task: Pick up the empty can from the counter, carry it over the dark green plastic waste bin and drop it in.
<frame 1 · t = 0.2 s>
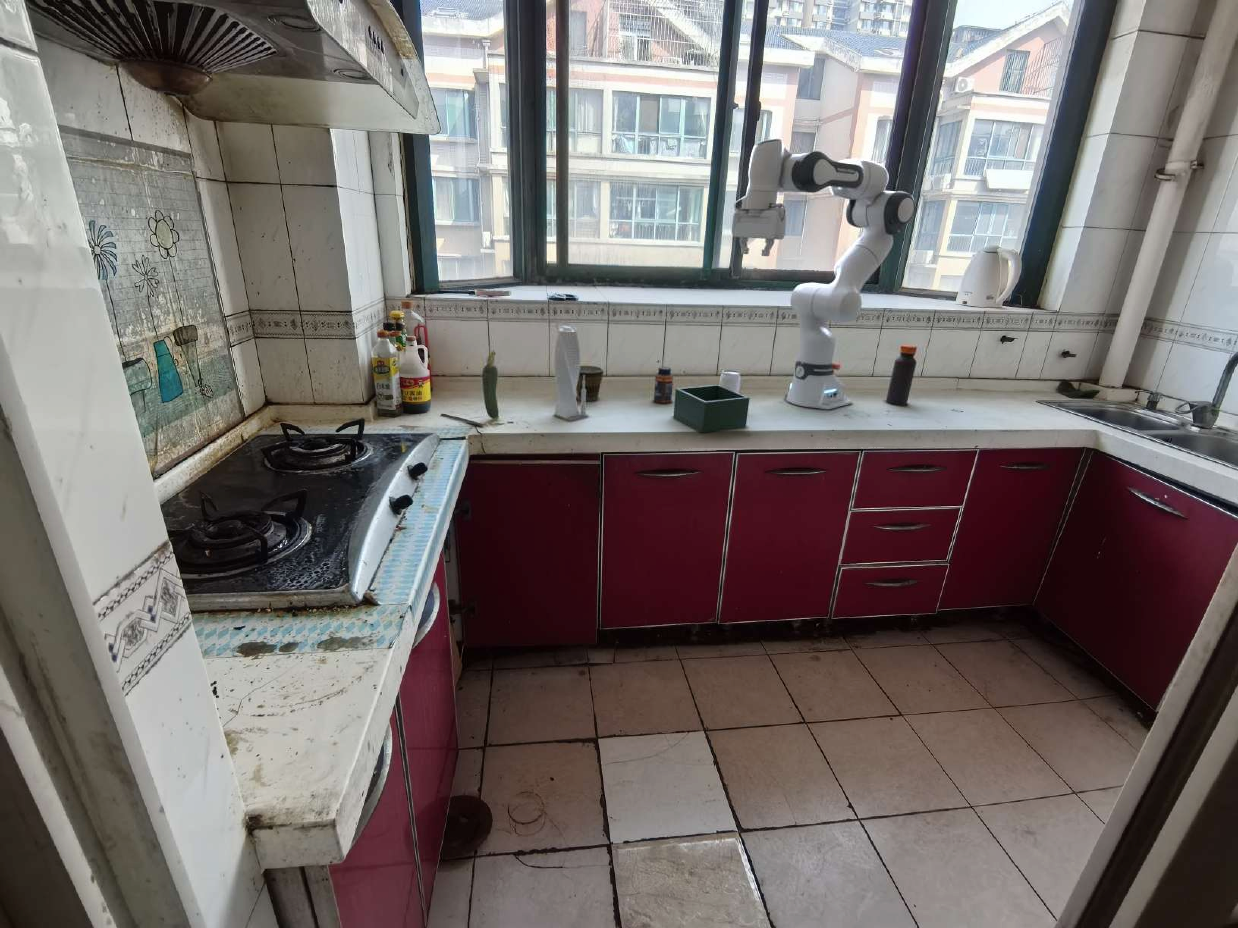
hand: (754, 255, 173), 47 cm above the countertop, tool pointing down, fingers open, 8 cm apart
skyscraper: (567, 416, 177), on the countertop
ceramic cup: (584, 400, 195), on the countertop
bin: (708, 422, 178), on the countertop
supplement bottle: (662, 401, 197), on the countertop
vinegar: (896, 403, 208), on the countertop
can: (726, 409, 192), on the countertop
vegetable: (492, 420, 171), on the countertop
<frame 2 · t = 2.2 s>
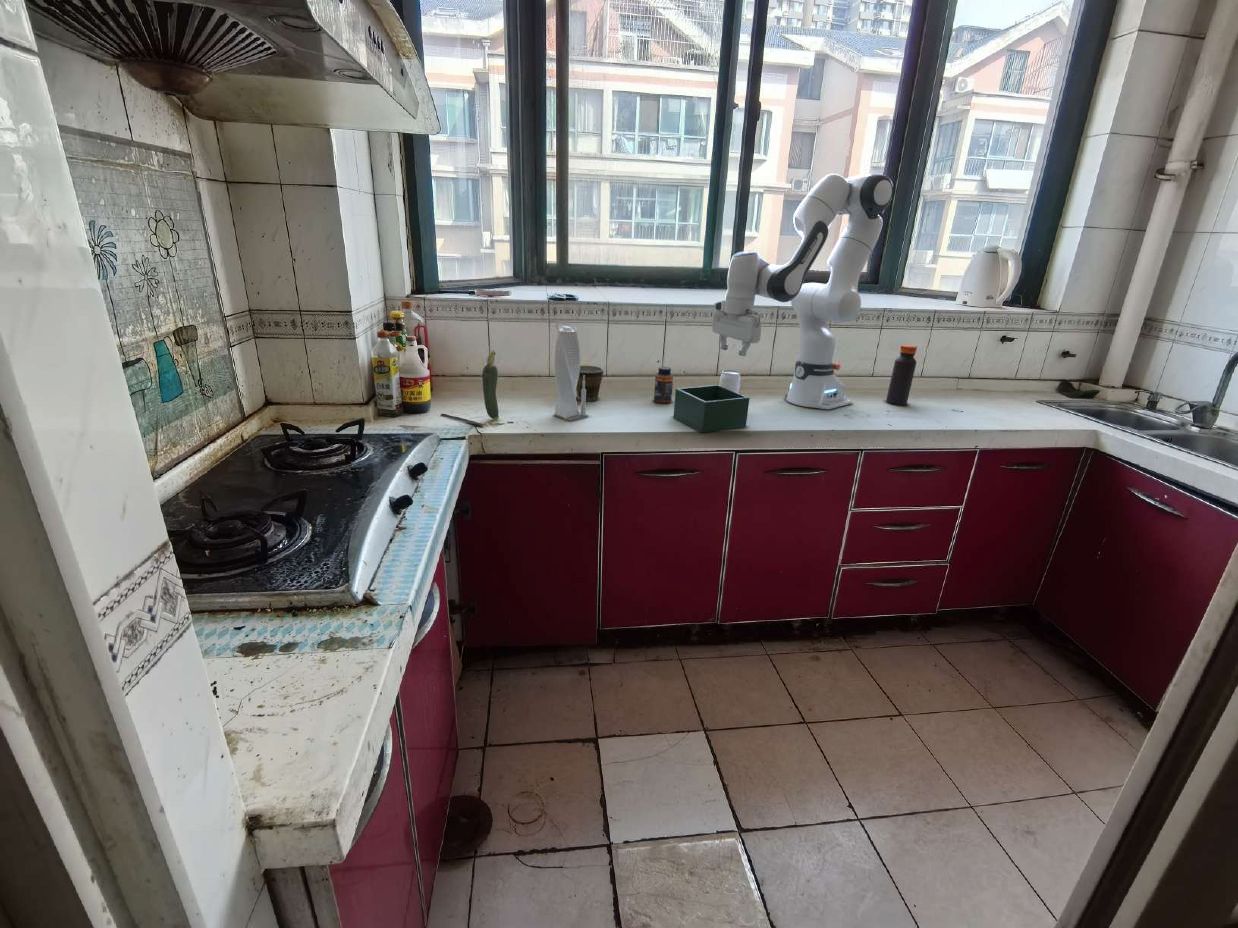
hand: (732, 352, 185), 18 cm above the countertop, tool pointing down, fingers open, 8 cm apart
nothing on the countertop moved.
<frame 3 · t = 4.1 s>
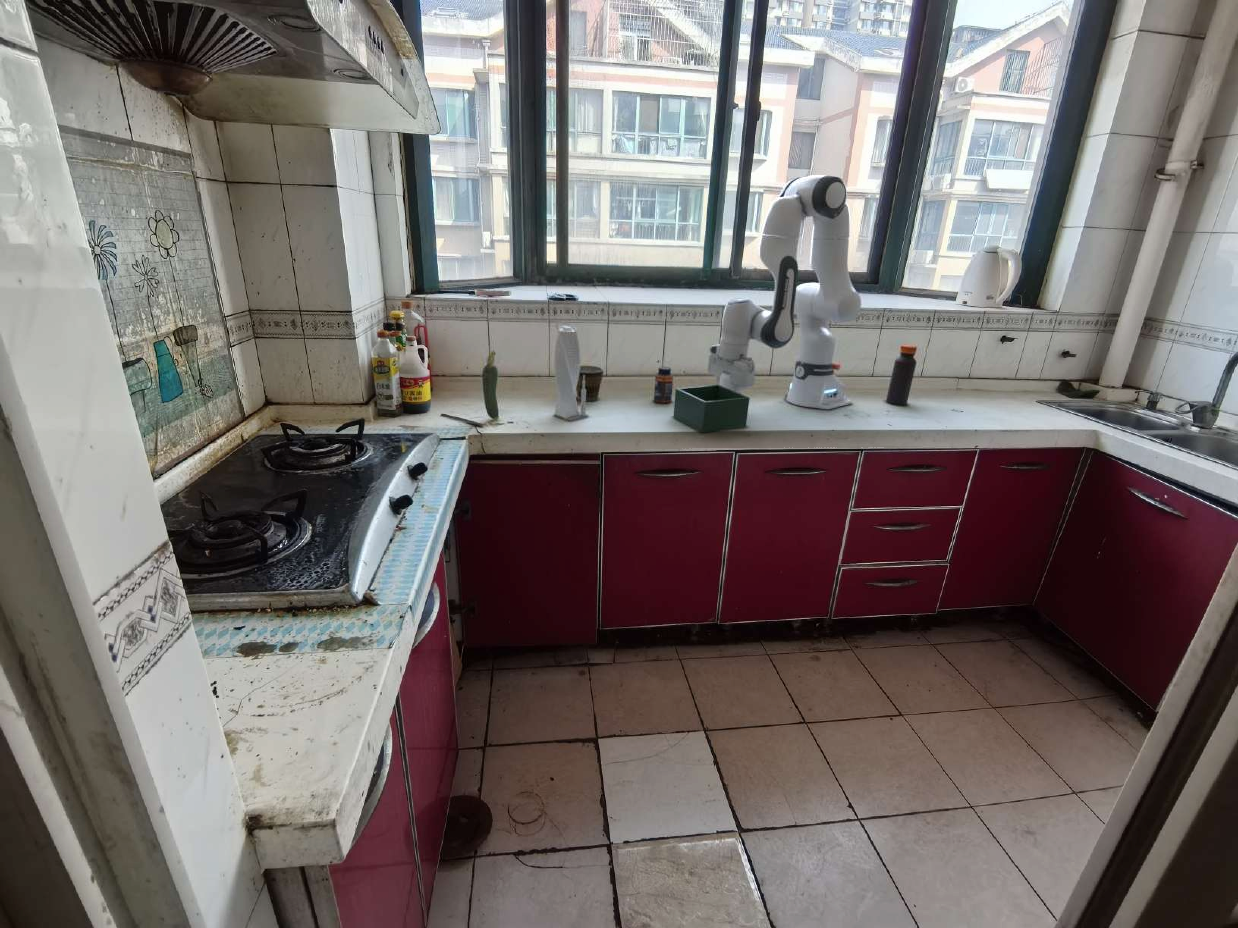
hand: (728, 394, 190), 5 cm above the countertop, tool pointing down, fingers closed on can, 6 cm apart
can: (726, 409, 192), on the countertop, touching gripper
everything else where it was.
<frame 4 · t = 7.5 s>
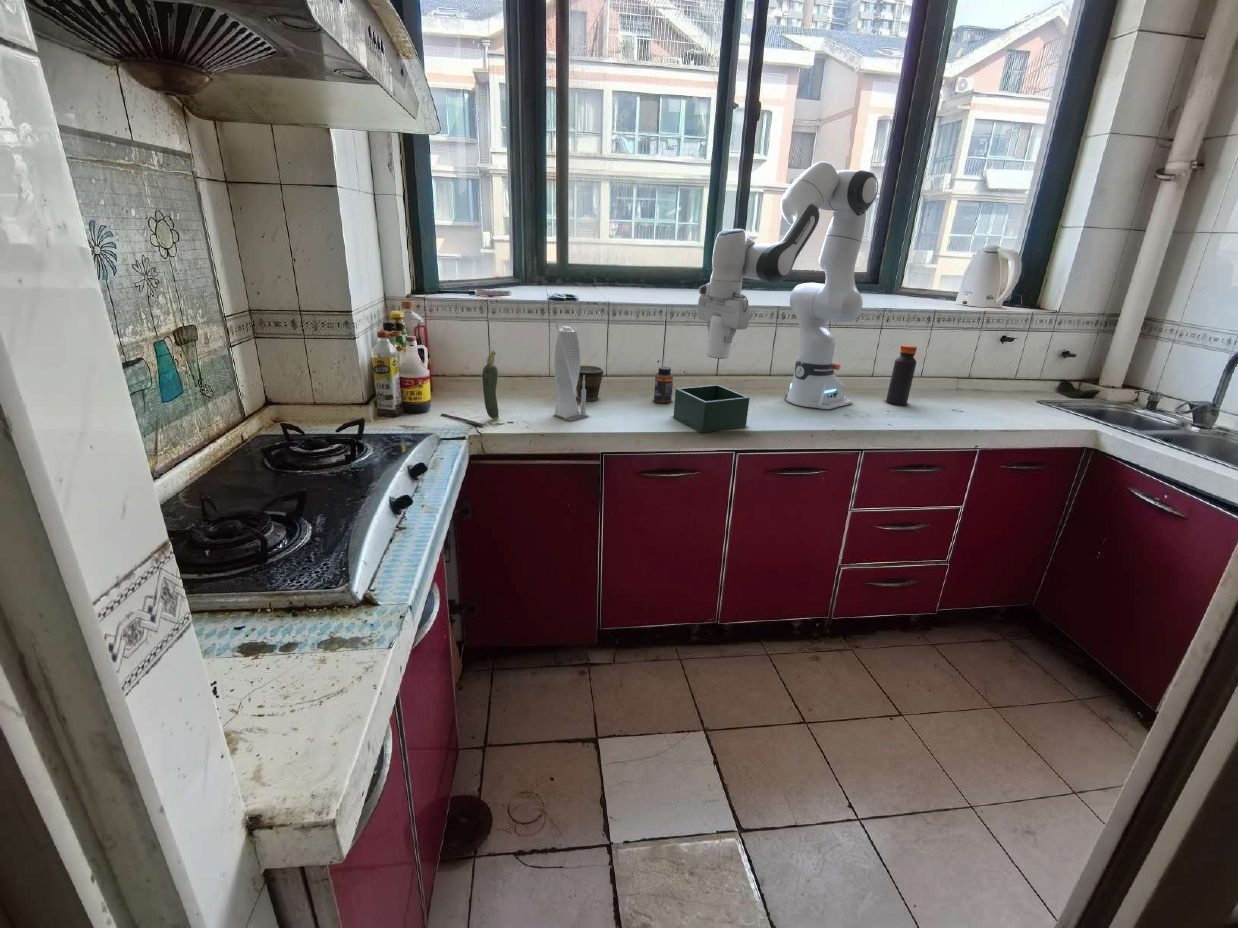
hand: (719, 340, 171), 24 cm above the countertop, tool pointing down, fingers closed on can, 6 cm apart
can: (717, 357, 172), point 19 cm above the countertop, touching gripper
everything else where it was.
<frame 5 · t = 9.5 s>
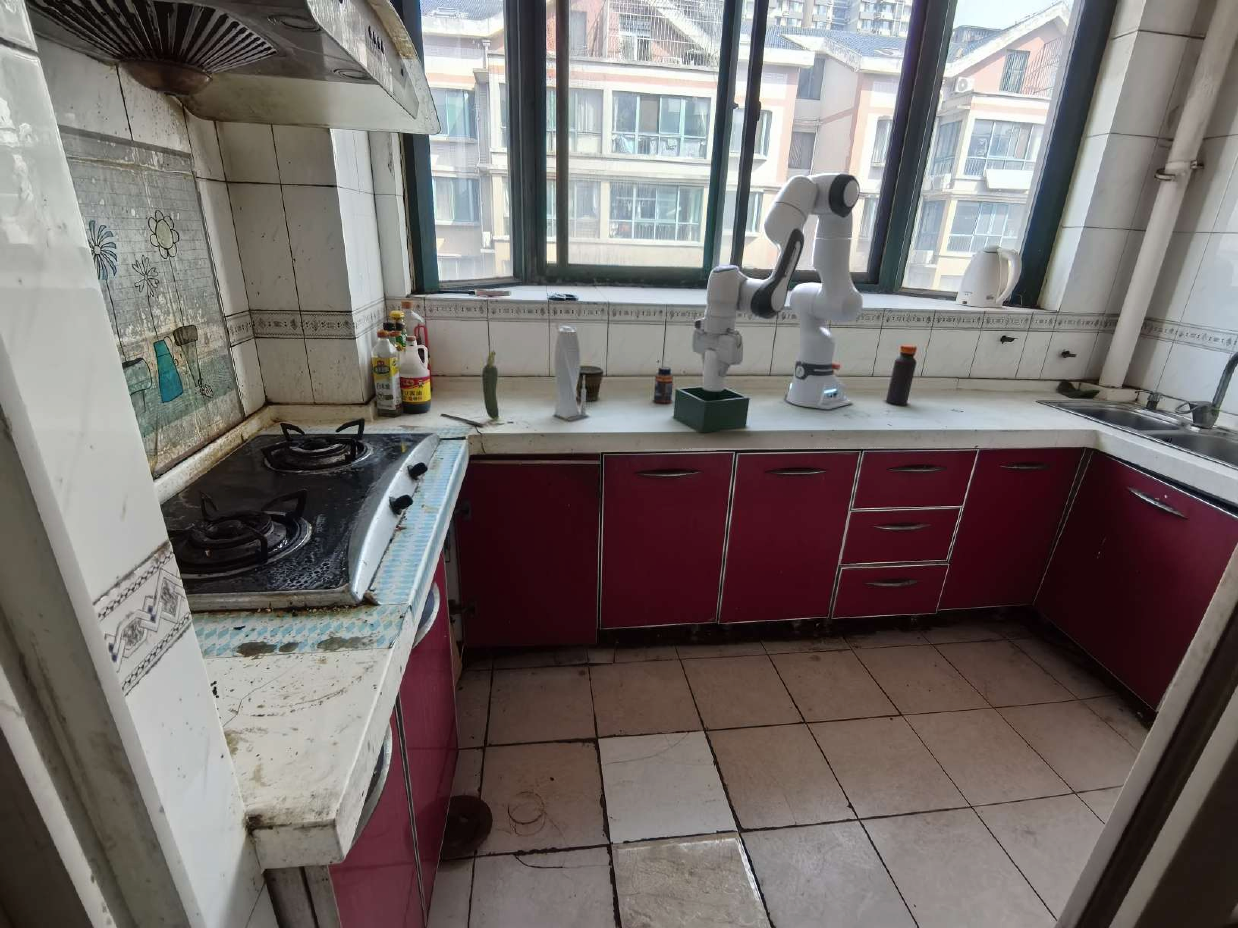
hand: (714, 373, 172), 15 cm above the countertop, tool pointing down, fingers closed on can, 6 cm apart
can: (712, 390, 174), point 10 cm above the countertop, touching gripper
everything else where it was.
when the fingers open (12 cm above the countertop, at t = 10.8 s): can drops 6 cm, resting on bin.
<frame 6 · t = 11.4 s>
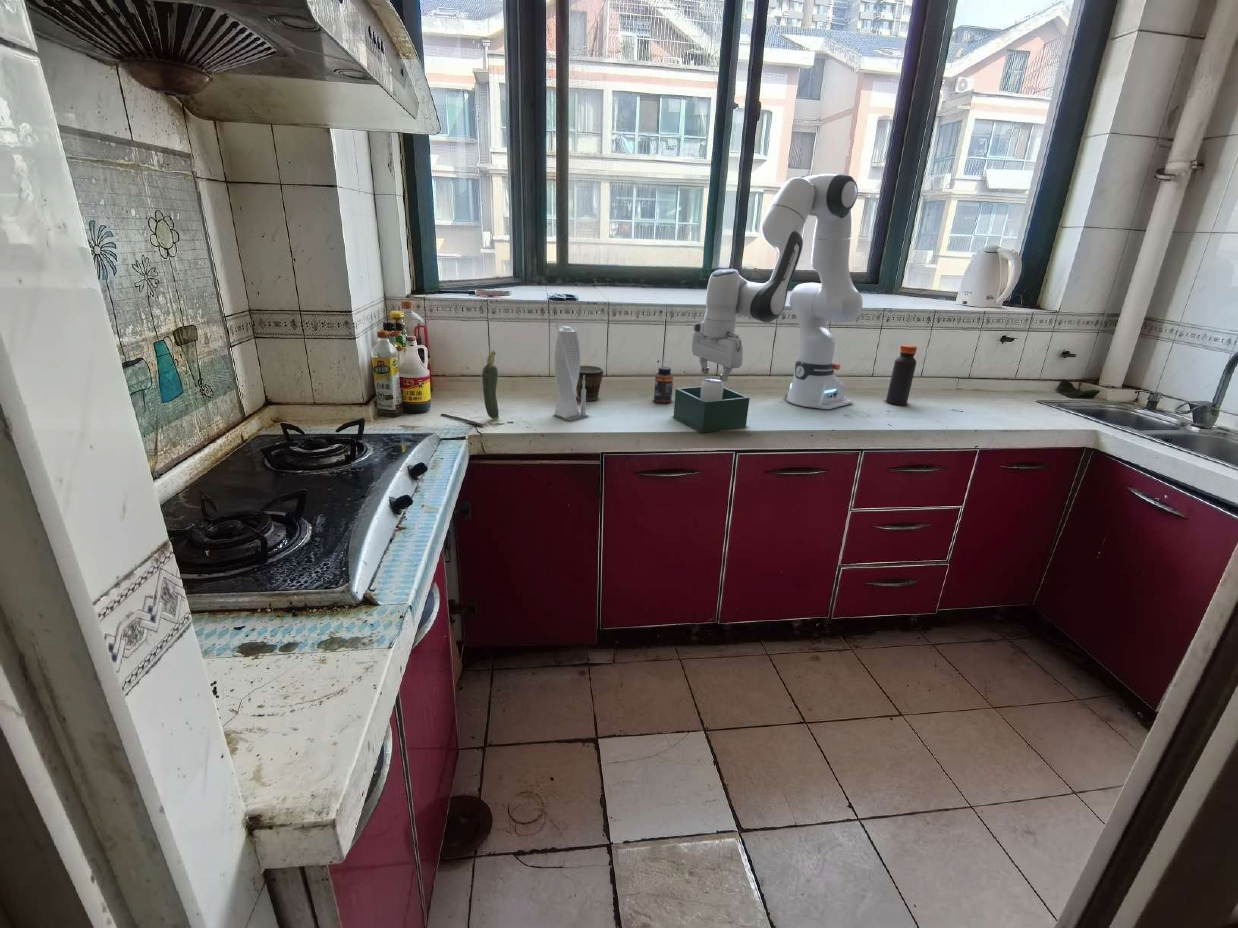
hand: (713, 377, 173), 14 cm above the countertop, tool pointing down, fingers open, 8 cm apart
can: (708, 419, 178), point 1 cm above the countertop, touching bin
everything else where it was.
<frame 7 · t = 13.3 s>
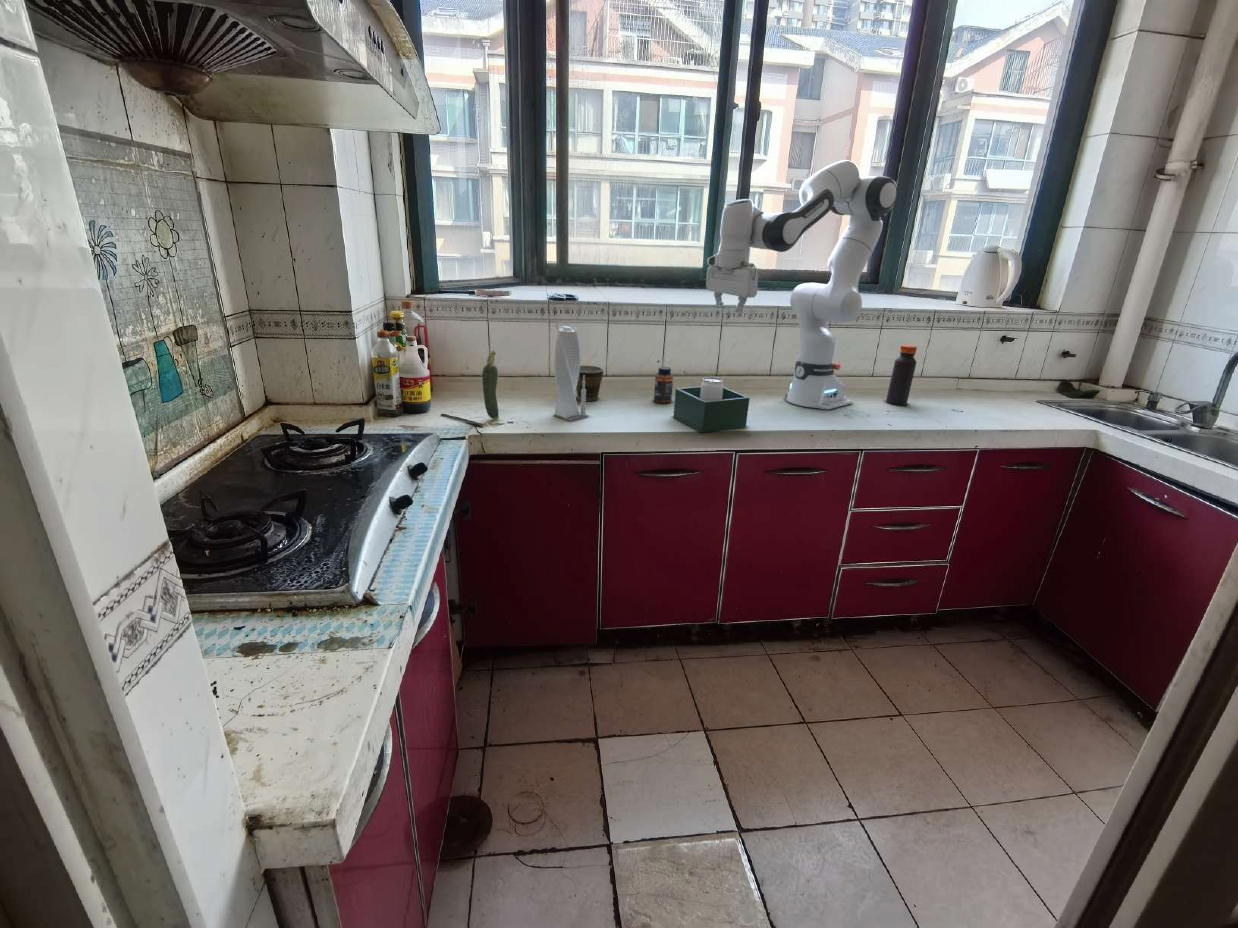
hand: (728, 310, 175), 32 cm above the countertop, tool pointing down, fingers open, 8 cm apart
nothing on the countertop moved.
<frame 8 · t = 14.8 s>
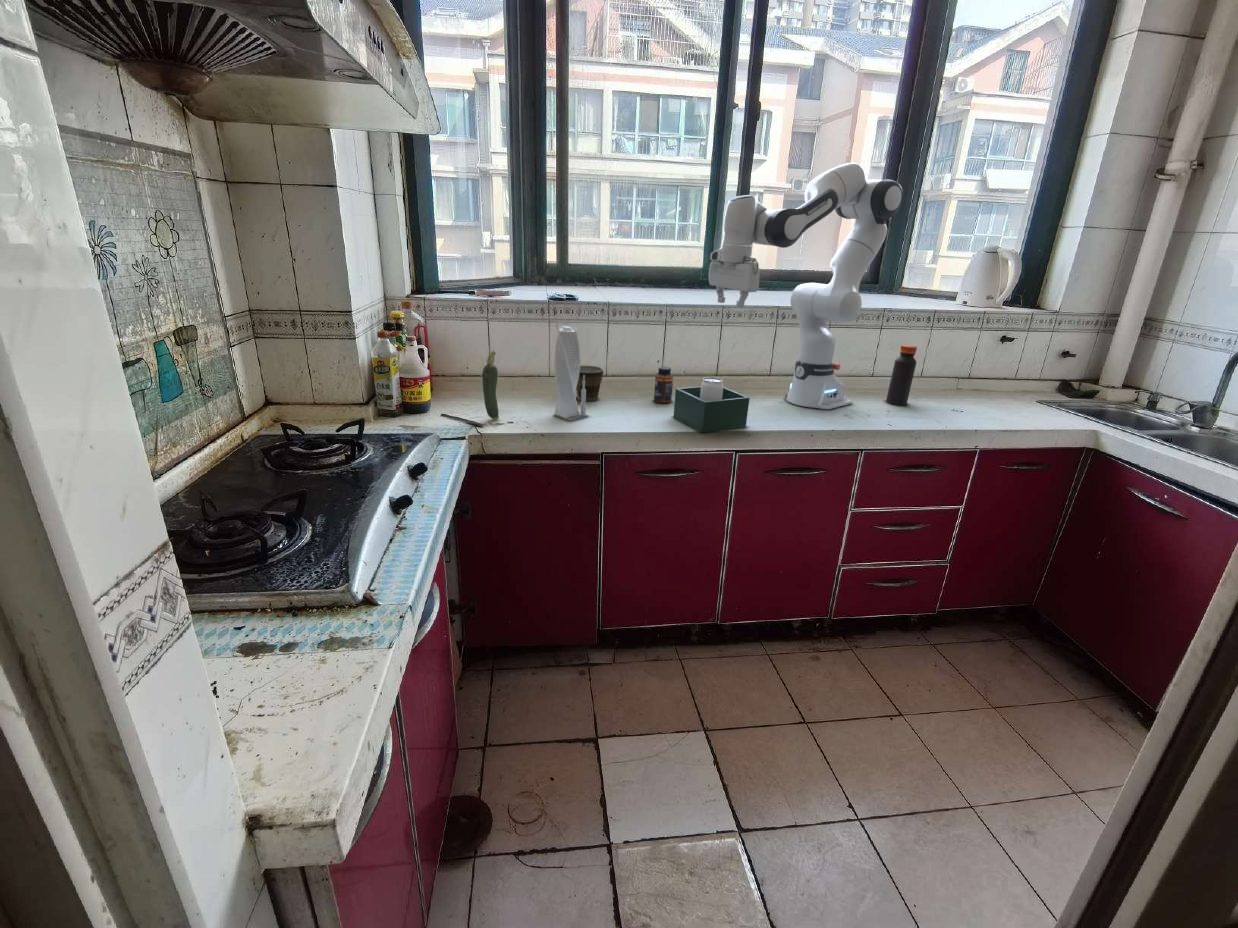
hand: (730, 304, 177), 33 cm above the countertop, tool pointing down, fingers open, 8 cm apart
nothing on the countertop moved.
at the end: can inside the target area in the bin (0.2 cm from its centre), point 0.8 cm above the bin's base; the gripper is holding nothing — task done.
